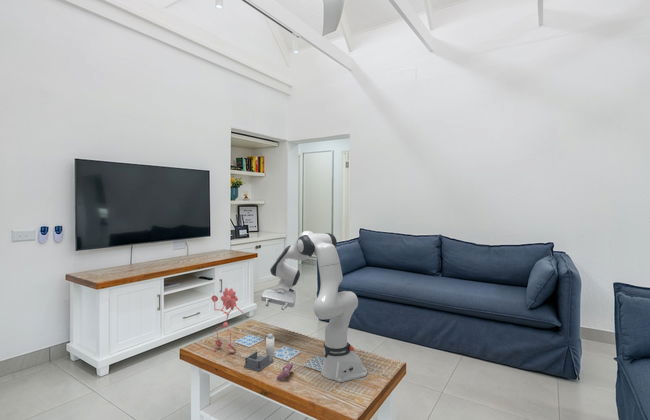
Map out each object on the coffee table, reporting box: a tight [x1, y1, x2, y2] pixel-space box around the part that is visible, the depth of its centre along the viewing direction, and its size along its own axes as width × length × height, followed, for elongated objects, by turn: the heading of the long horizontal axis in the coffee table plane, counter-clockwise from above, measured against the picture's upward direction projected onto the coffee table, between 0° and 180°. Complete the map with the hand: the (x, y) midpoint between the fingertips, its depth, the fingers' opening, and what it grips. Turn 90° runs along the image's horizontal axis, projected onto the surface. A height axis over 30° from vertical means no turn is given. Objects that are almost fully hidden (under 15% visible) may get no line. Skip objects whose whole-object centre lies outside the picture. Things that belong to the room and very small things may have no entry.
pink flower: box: [211, 287, 245, 359], centre depth 183 cm, size 15×26×35 cm, turn 59°
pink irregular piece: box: [276, 361, 294, 381], centre depth 155 cm, size 10×5×7 cm, turn 169°
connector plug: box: [265, 332, 275, 359], centre depth 175 cm, size 4×4×12 cm
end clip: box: [243, 351, 275, 373], centre depth 166 cm, size 12×10×5 cm
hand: (274, 307), depth 183 cm, fingers open, 8 cm apart
